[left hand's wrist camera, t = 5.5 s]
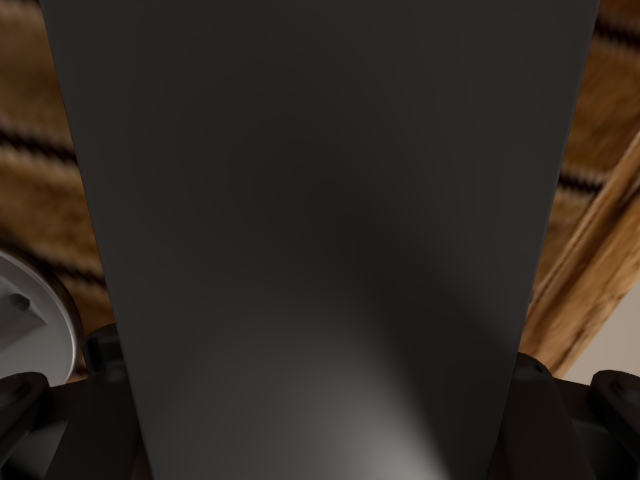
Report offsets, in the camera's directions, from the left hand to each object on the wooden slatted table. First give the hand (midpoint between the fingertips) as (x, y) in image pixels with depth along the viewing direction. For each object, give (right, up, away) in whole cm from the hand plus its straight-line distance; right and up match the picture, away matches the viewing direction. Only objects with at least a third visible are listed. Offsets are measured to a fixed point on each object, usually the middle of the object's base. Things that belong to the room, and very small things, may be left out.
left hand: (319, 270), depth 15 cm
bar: (0, +7, -2) cm, 7 cm away
